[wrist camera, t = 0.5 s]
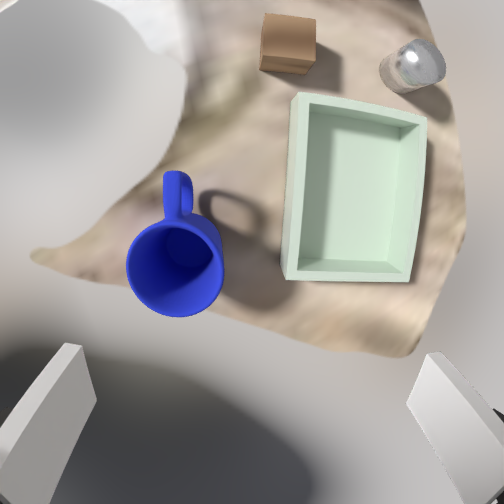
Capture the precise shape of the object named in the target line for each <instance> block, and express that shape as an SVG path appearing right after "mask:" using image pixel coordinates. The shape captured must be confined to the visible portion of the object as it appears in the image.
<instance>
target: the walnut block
mask: <svg viewBox="0 0 504 504" xmlns="http://www.w3.org/2000/svg"><path fill="white" fill-rule="evenodd" d="M315 61H316V20H315V19H309V18H302V17H295V16H287V15H278V14H267V13H265V17H264V22H263V27H262V34H261V51H260V67H259V70H262V71H274V72H285V73H294V74H302V75H305V74H306V73H307V72H308V70H309V69H310V68H311V66H312V65H313V64H314V63H315Z"/></svg>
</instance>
